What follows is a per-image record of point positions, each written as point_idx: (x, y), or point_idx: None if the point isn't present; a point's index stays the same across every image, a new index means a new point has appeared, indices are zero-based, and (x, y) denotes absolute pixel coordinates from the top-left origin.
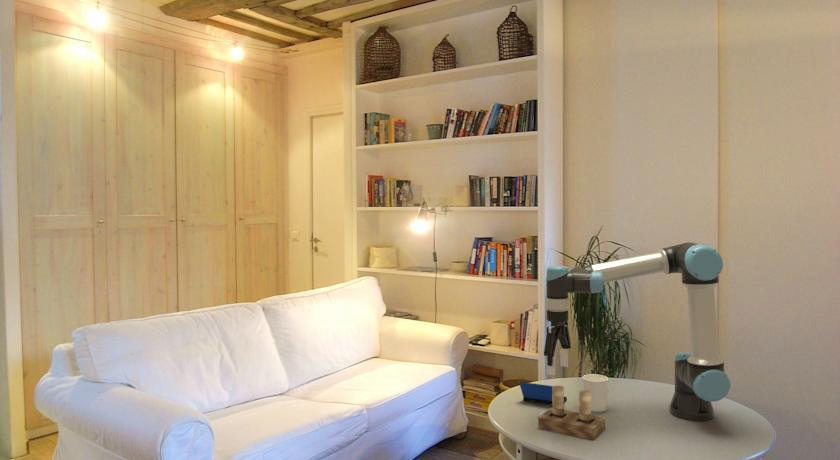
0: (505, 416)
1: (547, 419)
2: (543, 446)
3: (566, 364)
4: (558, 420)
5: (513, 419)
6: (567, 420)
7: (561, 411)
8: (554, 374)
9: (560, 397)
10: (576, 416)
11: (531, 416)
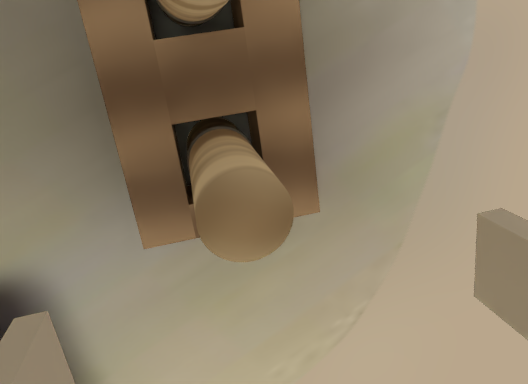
0: (272, 361)
1: (314, 162)
2: (462, 61)
3: (38, 349)
4: (295, 109)
5: (280, 322)
6: (264, 70)
7: (237, 134)
8: (505, 212)
9: (259, 159)
10: (169, 63)
11: (197, 298)
